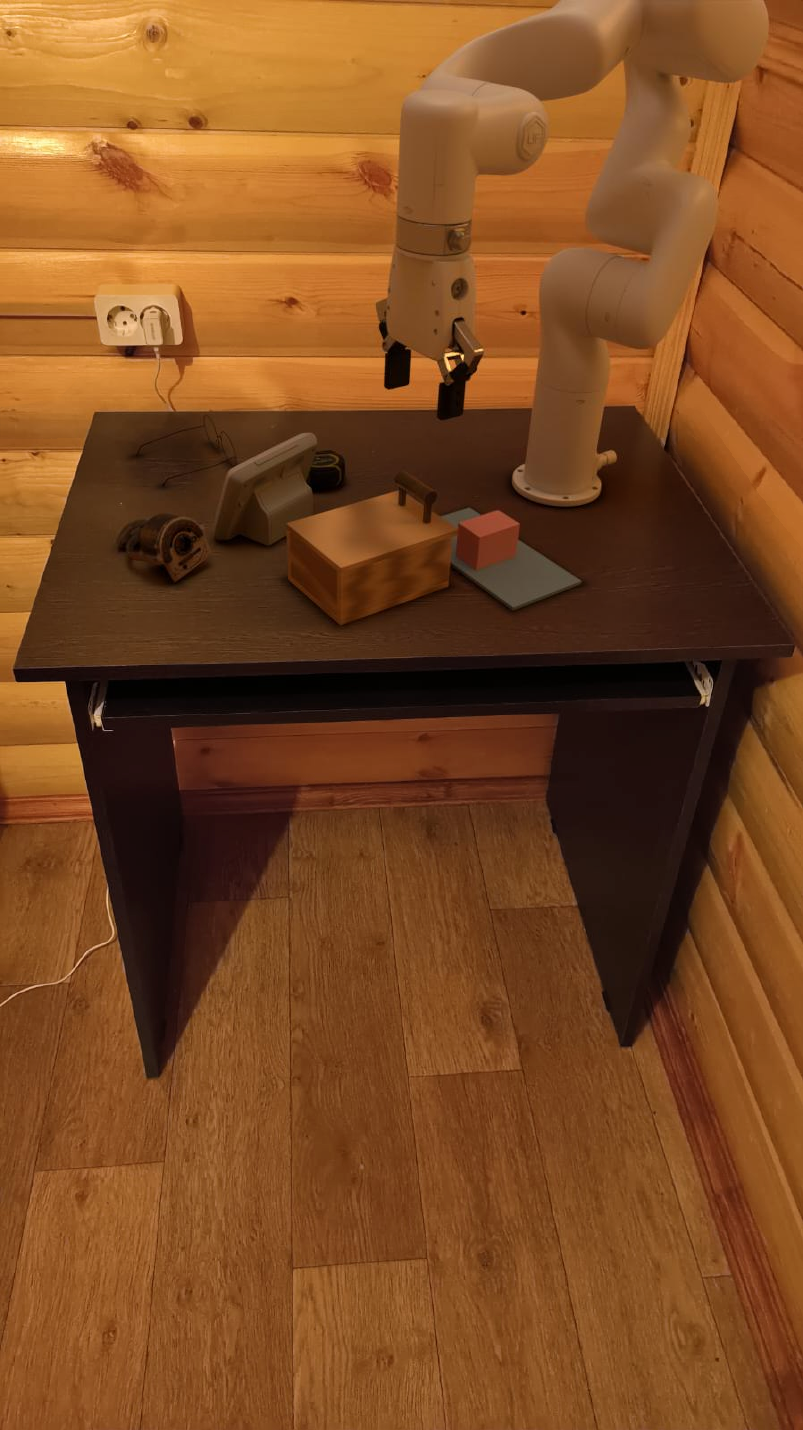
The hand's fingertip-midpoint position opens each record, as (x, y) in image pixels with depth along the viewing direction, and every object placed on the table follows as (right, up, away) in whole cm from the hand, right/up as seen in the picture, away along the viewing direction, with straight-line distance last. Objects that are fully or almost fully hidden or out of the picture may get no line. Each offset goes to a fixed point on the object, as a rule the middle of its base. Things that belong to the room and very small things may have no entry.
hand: (422, 401), depth 113 cm
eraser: (+8, -15, +16) cm, 23 cm away
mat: (+9, -15, +17) cm, 24 cm away
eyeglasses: (-33, +1, +33) cm, 47 cm away
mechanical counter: (-31, -15, +13) cm, 37 cm away
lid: (-6, -13, +6) cm, 16 cm away
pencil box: (-6, -19, +11) cm, 22 cm away
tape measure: (-14, -2, +31) cm, 34 cm away
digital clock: (-20, -10, +21) cm, 30 cm away
